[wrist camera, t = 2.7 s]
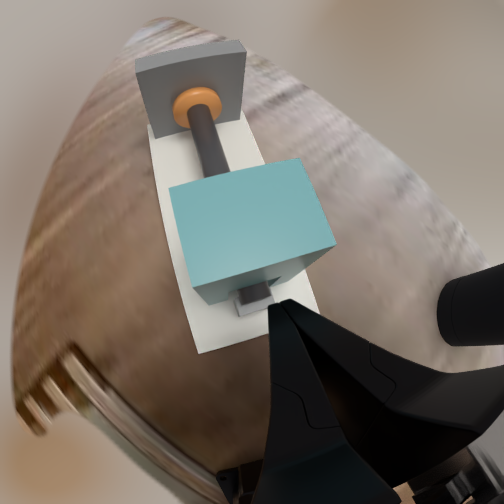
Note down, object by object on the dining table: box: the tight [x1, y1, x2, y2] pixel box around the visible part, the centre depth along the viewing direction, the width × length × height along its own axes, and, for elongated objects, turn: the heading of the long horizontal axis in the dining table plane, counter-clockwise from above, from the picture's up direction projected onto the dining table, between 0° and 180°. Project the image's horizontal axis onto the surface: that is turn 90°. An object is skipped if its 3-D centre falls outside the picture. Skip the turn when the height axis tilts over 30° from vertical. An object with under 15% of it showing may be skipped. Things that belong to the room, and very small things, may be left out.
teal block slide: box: [135, 40, 320, 354], centre depth 16 cm, size 18×8×8 cm, turn 18°
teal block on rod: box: [168, 158, 337, 305], centre depth 13 cm, size 4×5×8 cm
